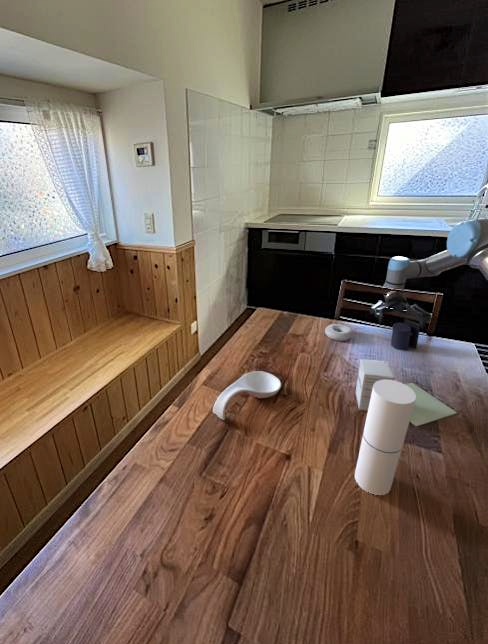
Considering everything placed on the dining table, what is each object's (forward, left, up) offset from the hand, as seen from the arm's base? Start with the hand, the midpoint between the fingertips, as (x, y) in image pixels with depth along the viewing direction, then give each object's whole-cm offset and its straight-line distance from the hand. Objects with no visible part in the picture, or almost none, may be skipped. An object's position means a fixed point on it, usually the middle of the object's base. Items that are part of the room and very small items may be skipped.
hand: (401, 322), depth 125 cm
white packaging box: (-26, +37, -6) cm, 45 cm away
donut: (+9, +20, -6) cm, 23 cm away
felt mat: (-30, +25, -6) cm, 40 cm away
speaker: (-6, +5, -6) cm, 10 cm away
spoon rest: (-12, +69, -6) cm, 70 cm away
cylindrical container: (-46, +55, -6) cm, 72 cm away
